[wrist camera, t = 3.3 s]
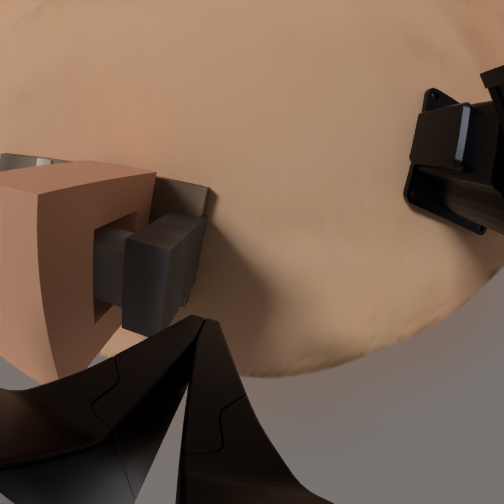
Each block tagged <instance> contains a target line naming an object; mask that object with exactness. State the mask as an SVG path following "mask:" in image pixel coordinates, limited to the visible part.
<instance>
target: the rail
mask: <svg viewBox="0 0 504 504" xmlns="http://www.w3.org/2000/svg"><path fill="white" fill-rule="evenodd" d="M68 162H72V161H65V160H58V159H51V158H43V157H35V156H26V155H17V154H7V153H4V154H1V157H0V172H1V171H7V170H13V169H20V168H26V167H33V166H41V165H49V164H58V163H68ZM208 191H209V187H205V186H201V185H196V184H192V183H187V182H182V181H178V180H173V179H168V178H163V177H158V176H156V179H155V184H154V190H153V196H152V202H151V208H150V215H149V222H148V225H147V226H145V227H144V228H142V229H140V230H139V231H137V232H135V233H133V232H129V231H125V230H121V229H118V228H114V227H110V226H107V225H104V226H101V227H99V228H97V229H95V230H94V242H93V297H94V298H97V299H99V300H102V301H105V302H107V303H110V304H113V305H116V306H118V307H121V308H122V328H124V329H127V330H129V331H132V332H135V333H138V334H141V335H144V336H147V337H151V336H153V335H155V334H157V333H159V332H160V331H162V330H164V329H166V328H168V326H169V324H170V323H171V321H172V319H173V318H174V316H175V314H176V312H177V311H178V309H179V307H180V306H182V307H185V306H186V305H187V302H188V296H189V290H190V289H191V287H192V285H193V284H194V282H195V277H196V271H197V266H198V261H199V255H200V250H201V245H202V240H203V235H204V230H205V225H206V220H207V216H204V210H205V205H206V201H207V196H208Z"/></svg>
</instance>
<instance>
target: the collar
mask: <svg viewBox="0 0 504 504" xmlns="http://www.w3.org/2000/svg"><path fill="white" fill-rule="evenodd" d="M156 173H157V172H153V171H148V170H143V169H137V168H132V167H126V166H121V165H115V164H109V163H102V162H96V161H80V162H68V163H58V164H49V165H41V166H33V167H26V168H20V169H13V170H7V171H1V172H0V356H1V357H3V358H4V359H5V360H7V361H8V362H9V363H11V364H12V365H13V366H15V367H16V368H18V369H19V370H21V371H22V372H23V373H25V374H27V375H28V376H29V377H31V378H32V379H34V380H36V381H37V382H39V383H40V384H42V385H43V384H46V383H49V382H52V381H55V380H58V379H61V378H64V377H67V376H70V375H72V374H75V373H77V372H80V371H83V370H85V369H86V368H87V367H88V366H89V364H90V363H91V362H92V360H93V359H94V358H95V357H96V355H97V354H98V353H99V352H100V350H101V349H102V348H103V347H104V345H105V344H106V343H107V342H108V340H109V339H110V338H111V337H112V335H113V334H114V333H115V332H116V330H117V329H118V328H119V327H120V326H121V324H122V308H121V307H118V306H116V305H113V304H110V303H107V302H105V301H102V300H99V299H97V298H94V297H93V242H94V230H95V229H97V228H99V227H101V226H104V225H107V226H110V227H114V228H118V229H121V230H125V231H129V232H133V233H135V232H137V231H139V230H140V229H142V228H144V227H145V226H147V225H148V222H149V215H150V208H151V202H152V196H153V190H154V184H155V179H156Z"/></svg>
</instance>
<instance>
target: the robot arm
mask: <svg viewBox="0 0 504 504" xmlns="http://www.w3.org/2000/svg"><path fill="white" fill-rule="evenodd" d="M480 77H481V79H482V81H483V84H484V86H485V88H488V90H489V93H490V95H491V98H492V101H488V102H482V103H476V104H470V103H468V102H465V103H459V102H457V101H456V100H454V99H452V98H451V97H449V96H448V95H446V94H444V93H443V92H441V91H439V90H438V89H435V88H431V89H428V90H427V91H426V92H425V95H424V101H423V107H422V113H420V114H419V115H418V120H417V125H416V130H415V135H414V139H413V144H412V148H411V153H410V157H409V158H410V161H411V165H410V169H409V173H408V176H407V180H406V184H405V187H404V192H403V196H404V199H405V200H406V201H407V202H408V203H410V204H413V205H415V206H418V207H420V208H422V209H425V210H427V211H429V212H432V213H434V214H436V215H438V216H441V217H443V218H445V219H447V220H450V221H452V222H454V223H456V224H458V225H460V226H462V227H464V228H466V229H468V230H471V231H473V232H475V233H477V234H479V235H483V234H484V233H485V232H486V230H487V228H489V229H491V230H493V231H496V232H498V233H500V234H502V235H504V65H503V66H500V67H497V68H494V69H492V70H489V71H486V72H484V73H481V74H480ZM432 94H433V95H434V96H435V98H436V101H435V100H433V98H432ZM413 190H415V197H414V198H411V192H412V191H413ZM480 225H481V227H480V228H479V226H480ZM187 386H188V391H187V399H186V406H185V414H184V422H183V430H182V440H181V448H180V459H179V468H178V479H177V491H176V503H175V504H334V503H332V502H330V501H327V500H326V499H323V498H321V497H319V496H317V495H315V494H314V493H312V492H310V491H309V490H308V489H306V488H305V487H304V486H303V485H302V484H301V483H299V481H298V480H297V479H296V478H295V477H294V475H293V474H292V472H291V471H290V470H289V468H288V467H287V465H286V464H285V462H284V461H283V459H282V458H281V456H280V455H279V453H278V452H277V450H276V449H275V447H274V446H273V444H272V443H271V441H270V440H269V438H268V437H267V435H266V433H265V432H264V430H263V428H262V426H261V425H260V423H259V421H258V419H257V417H256V415H255V413H254V410H253V408H252V406H251V404H250V401H249V399H248V397H247V394H246V392H245V389H244V387H243V384H242V382H241V379H240V377H239V374H238V371H237V369H236V366H235V364H234V361H233V359H232V356H231V353H230V351H229V348H228V345H227V343H226V340H225V337H224V334H223V332H222V329H221V326H220V323H219V322H218V321H214V320H211V319H204V318H203V317H199V316H196V315H190V316H188V317H186V318H185V319H183V320H181V321H179V322H177V323H175V324H173V325H172V326H170V327H168V328H166V329H164V330H162V331H160V332H159V333H157V334H155V335H153V336H151V337H149V338H147V339H145V340H143V341H142V342H140V343H138V344H136V345H134V346H132V347H130V348H128V349H126V350H124V351H122V352H120V353H119V354H117V355H115V356H114V357H111V358H109V359H107V360H105V361H103V362H101V363H99V364H96V365H94V366H92V367H90V368H88V369H85V370H83V371H80V372H77V373H75V374H72V375H70V376H67V377H64V378H61V379H58V380H55V381H52V382H49V383H46V384H43V385H40V386H37V387H34V388H30V389H27V390H6V389H2V388H0V504H134V503H135V500H136V498H137V496H138V493H139V491H140V489H141V487H142V485H143V483H144V481H145V478H146V476H147V474H148V472H149V469H150V467H151V465H152V463H153V461H154V459H155V456H156V454H157V452H158V450H159V448H160V445H161V443H162V441H163V439H164V437H165V435H166V433H167V430H168V428H169V426H170V424H171V422H172V419H173V417H174V415H175V413H176V411H177V409H178V406H179V404H180V402H181V400H182V398H183V395H184V393H185V391H186V389H187Z"/></svg>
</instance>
